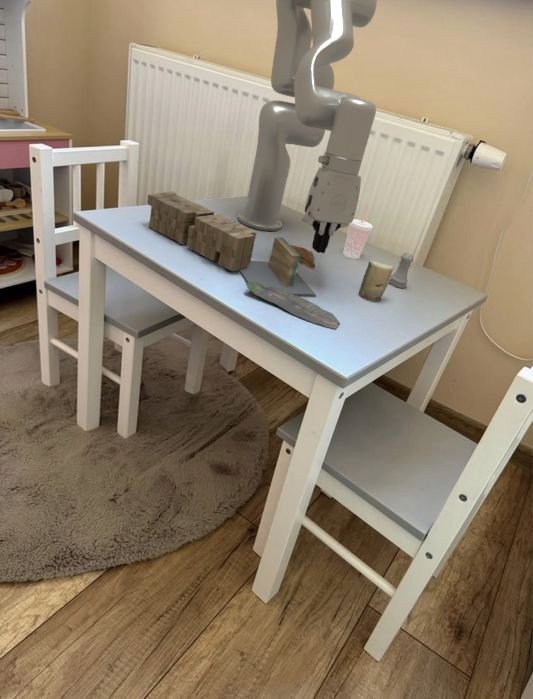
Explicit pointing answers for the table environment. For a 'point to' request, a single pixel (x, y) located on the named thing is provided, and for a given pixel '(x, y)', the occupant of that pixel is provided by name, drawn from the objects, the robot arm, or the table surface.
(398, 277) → the rook chess piece
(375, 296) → the beige rounded chunk
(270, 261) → the plaque
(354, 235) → the beverage cup
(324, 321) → the mossy stone slab
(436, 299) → the table surface
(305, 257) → the shard
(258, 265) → the mat
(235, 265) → the block tower
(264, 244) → the table surface
